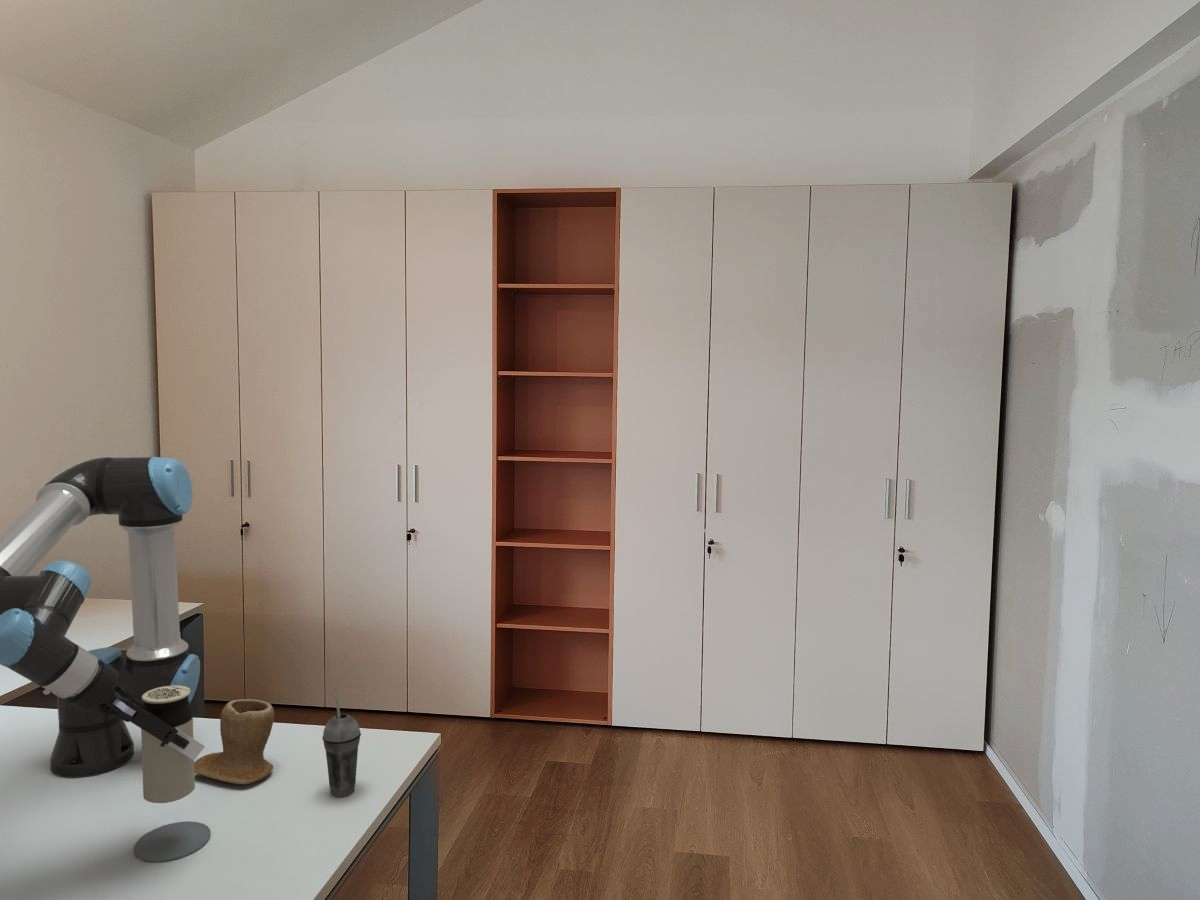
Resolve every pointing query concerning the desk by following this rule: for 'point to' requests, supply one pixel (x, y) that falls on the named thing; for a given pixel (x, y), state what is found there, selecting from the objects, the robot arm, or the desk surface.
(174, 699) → the travel mug
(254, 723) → the stone cup
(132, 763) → the desk surface
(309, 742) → the desk surface
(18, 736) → the desk surface
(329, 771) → the beverage cup
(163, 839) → the mat
